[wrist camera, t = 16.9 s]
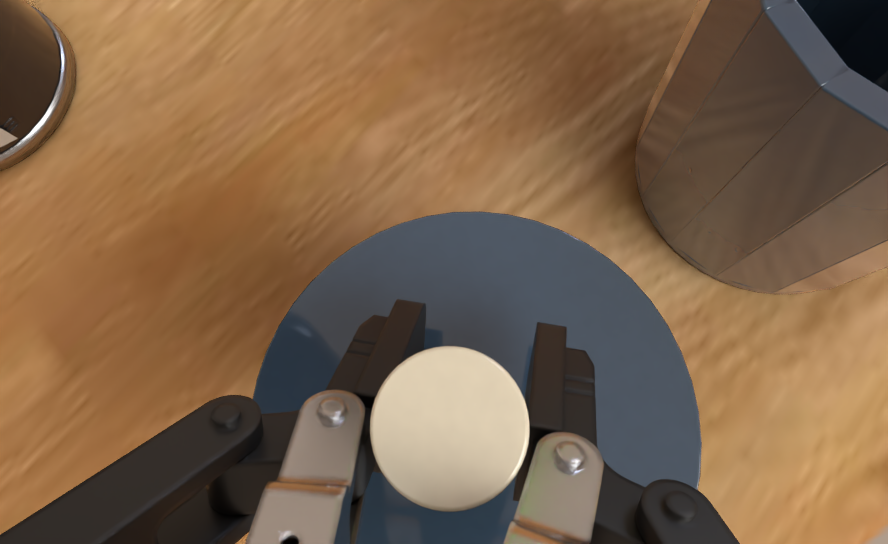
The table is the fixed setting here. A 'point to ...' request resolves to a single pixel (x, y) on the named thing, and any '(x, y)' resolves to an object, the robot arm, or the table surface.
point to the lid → (484, 368)
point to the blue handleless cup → (773, 143)
